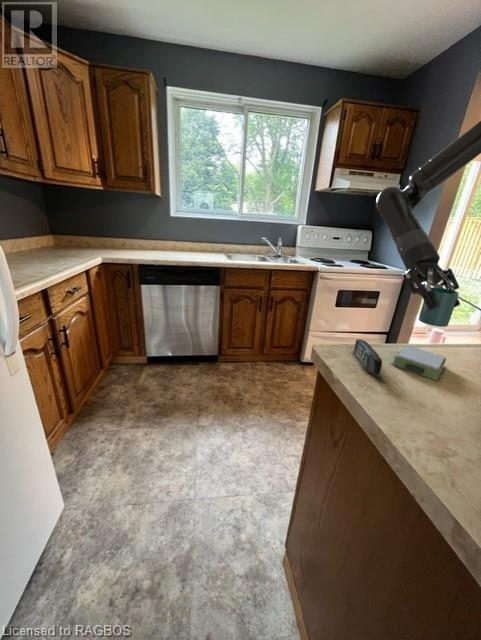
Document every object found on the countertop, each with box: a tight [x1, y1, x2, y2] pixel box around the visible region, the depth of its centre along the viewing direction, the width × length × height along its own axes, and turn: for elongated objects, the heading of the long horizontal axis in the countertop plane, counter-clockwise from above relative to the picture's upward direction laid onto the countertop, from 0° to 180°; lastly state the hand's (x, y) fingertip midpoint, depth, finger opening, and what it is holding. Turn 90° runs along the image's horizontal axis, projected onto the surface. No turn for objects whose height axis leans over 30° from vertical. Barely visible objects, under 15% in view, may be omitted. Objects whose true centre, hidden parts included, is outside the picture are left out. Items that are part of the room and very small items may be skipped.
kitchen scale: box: [392, 345, 447, 381], centre depth 73 cm, size 11×10×3 cm
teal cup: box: [418, 286, 460, 328], centre depth 67 cm, size 6×6×8 cm
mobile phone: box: [353, 338, 384, 381], centre depth 72 cm, size 5×3×15 cm
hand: (444, 307), depth 65 cm, fingers closed on teal cup, 6 cm apart
